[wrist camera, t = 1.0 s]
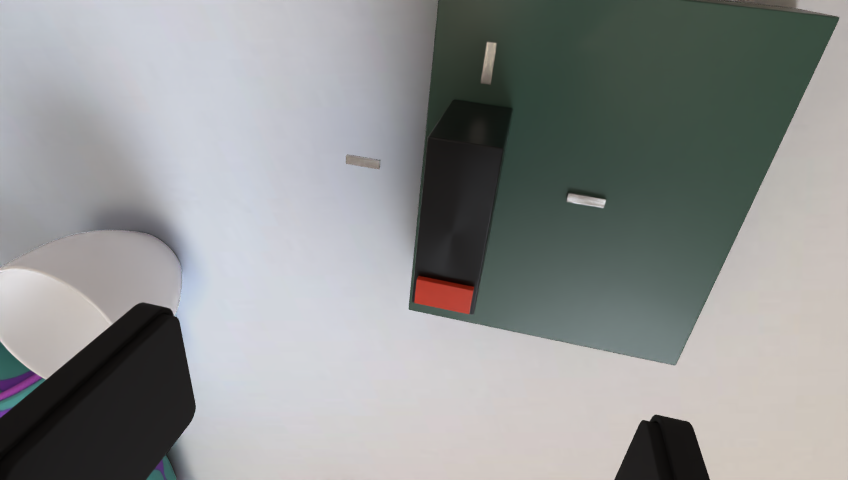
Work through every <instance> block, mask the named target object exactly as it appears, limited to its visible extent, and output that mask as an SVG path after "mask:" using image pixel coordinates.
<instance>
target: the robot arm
mask: <svg viewBox="0 0 848 480" xmlns="http://www.w3.org/2000/svg"><path fill="white" fill-rule="evenodd" d="M195 409H196V405H195V399H194V394H193V389H192V384H191V379H190V374H189V369H188V364H187V358H186V353H185V348H184V343H183V338H182V333H181V328H180V323H179V320H178V318H177V317H175V316H174V314H173V311H172V310H171V309H170V308H167V307H162V306H158V305H153V304H149V303H144V302H142V303H138V304H137V305H135V306H134V307H132V308H131V309H130V310H129V311H128V312H126V313H125V314H124V315H123V316H122V317H121V318H119V319H118V320H117V321H116V322H115V323H113V324H112V325H111V326H110V327H109V328H107V329H106V330H105V331H104V332H103V333H101V334H100V335H99V336H98V337H97V338H95V339H94V340H93V341H92V342H91V343H89V344H88V345H87V346H86V347H85V348H83V349H82V350H81V351H80V352H79V353H77V354H76V355H75V356H74V357H73V358H71V359H70V360H69V361H68V362H67V363H65V364H64V365H63V366H62V367H61V368H59V369H58V370H57V371H56V372H55V373H53V374H52V375H51V376H50V377H49V378H47V379H46V380H45V381H44V382H43V383H41V384H40V385H39V386H38V387H37V388H36V389H34V390H33V391H32V392H31V393H30V394H28V395H27V396H26V397H25V398H24V399H22V400H21V401H20V402H19V403H18V404H16V405H15V406H14V407H13V408H12V409H10V410H9V411H8V412H7V413H6V414H4V415H3V416H2V417H1V418H0V480H146V479H147V478H148V477H149V476H150V474H151V473H152V472H153V470H154V469H155V468H156V466H157V465H158V464H159V463H160V461H161V460H162V459H163V457H164V456H165V455H166V454H167V452H168V451H169V450H170V448H171V447H172V446H173V444H174V443H175V442H176V441H177V439H178V438H179V437H180V435H181V434H182V433H183V431H184V430H185V429H186V428H187V426H188V425H189V424H190V422H191V421H192V418H193V416H194V413H195ZM615 480H710V479H709V476H708V473H707V469H706V466H705V463H704V460H703V457H702V454H701V451H700V448H699V445H698V442H697V438H696V435H695V432H694V429H693V427H692V425H691V424H690V423H689V422H687V421H682V420H678V419H673V418H669V417H664V416H660V415H654V416H653V417H652V419H651V420H650V422H649V421H645V420H642V421H641V422H640V424H639V426H638V429H637V431H636V433H635V435H634V437H633V440H632V442H631V444H630V446H629V448H628V451H627V453H626V455H625V457H624V460H623V462H622V464H621V466H620V468H619V471H618V473H617V475H616V477H615Z"/></svg>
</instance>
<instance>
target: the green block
mask: <svg viewBox="0 0 848 480" xmlns="http://www.w3.org/2000/svg"><path fill="white" fill-rule="evenodd" d="M838 20H839V17H837V16H832V15H827V14H822V13H817V12H812V11H807V10H802V9H796V8H788V7H779V6H770V5H761V4H752V3H743V2H734V1H725V0H438V9H437V20H436V30H435V41H434V51H433V61H432V72H431V82H430V92H429V103H428V113H427V124H426V134H425V144H424V155H423V165H422V175H421V186H420V196H419V207H418V217H417V227H416V238H415V248H414V258H413V269H412V279H411V290H410V300H409V310H413V311H418V312H423V313H427V314H432V315H437V316H442V317H447V318H451V319H456V320H461V321H466V322H470V323H475V324H480V325H485V326H489V327H494V328H499V329H504V330H508V331H513V332H518V333H523V334H528V335H532V336H537V337H542V338H547V339H551V340H556V341H561V342H566V343H570V344H575V345H580V346H585V347H590V348H594V349H599V350H604V351H609V352H613V353H618V354H623V355H628V356H632V357H637V358H642V359H647V360H652V361H656V362H661V363H666V364H671V365H676V363H677V361H678V359H679V357H680V355H681V353H682V351H683V349H684V347H685V344H686V342H687V340H688V338H689V336H690V334H691V332H692V330H693V327H694V325H695V323H696V321H697V319H698V317H699V315H700V313H701V311H702V308H703V306H704V304H705V302H706V300H707V298H708V296H709V294H710V291H711V289H712V287H713V285H714V283H715V281H716V279H717V277H718V275H719V272H720V270H721V268H722V266H723V264H724V262H725V260H726V258H727V255H728V253H729V251H730V249H731V247H732V245H733V243H734V241H735V239H736V236H737V234H738V232H739V230H740V228H741V226H742V224H743V222H744V219H745V217H746V215H747V213H748V211H749V209H750V207H751V205H752V203H753V200H754V198H755V196H756V194H757V192H758V190H759V188H760V186H761V183H762V181H763V179H764V177H765V175H766V173H767V171H768V169H769V167H770V164H771V162H772V160H773V158H774V156H775V154H776V152H777V150H778V147H779V145H780V143H781V141H782V139H783V137H784V135H785V133H786V131H787V128H788V126H789V124H790V122H791V120H792V118H793V116H794V114H795V111H796V109H797V107H798V105H799V103H800V101H801V99H802V97H803V95H804V92H805V90H806V88H807V86H808V84H809V82H810V80H811V78H812V75H813V73H814V71H815V69H816V67H817V65H818V63H819V61H820V59H821V56H822V54H823V52H824V50H825V48H826V46H827V44H828V42H829V39H830V37H831V35H832V33H833V31H834V29H835V27H836V25H837V23H838ZM453 100H461V101H467V102H474V103H481V104H487V105H494V106H501V107H508V108H512V109H513V112H512V118H511V123H510V128H509V134H508V139H507V145H506V150H505V156H504V161H503V167H502V172H501V178H500V183H499V189H498V194H497V199H496V205H495V210H494V216H493V221H492V227H491V232H490V238H489V243H488V249H487V254H486V258H485V263H484V268H483V273H482V278H481V283H480V287H479V292H478V297H477V302H476V307H475V312H474V314H473V315H470V314H465V313H460V312H456V311H451V310H446V309H441V308H436V307H432V306H427V305H422V304H417V303H413V302H412V291H413V281H414V271H415V261H416V251H417V241H418V231H419V220H420V210H421V200H422V190H423V180H424V170H425V160H426V150H427V140H428V136H429V135H430V133H431V132H432V130H433V129H434V127H435V126H436V124H437V123H438V121H439V120H440V118H441V117H442V115H443V114H444V112H445V111H446V109H447V108H448V107H449V105H450V104H451V102H452V101H453ZM346 164H350V165H356V166H362V167H368V168H374V169H380V160H378V159H372V158H366V157H360V156H354V155H348V154H347V155H346Z"/></svg>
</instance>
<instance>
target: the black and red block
mask: <svg viewBox="0 0 848 480" xmlns="http://www.w3.org/2000/svg"><path fill="white" fill-rule="evenodd" d="M512 112H513V109H512V108H508V107H501V106H494V105H487V104H481V103H474V102H467V101H461V100H453V101H452V102H451V104H450V105H449V107H448V108H447V109H446V111H445V112H444V114H443V115H442V117H441V118H440V120H439V121H438V123H437V124H436V126H435V127H434V129H433V130H432V132H431V133H430V135H429V136H428V140H427V150H426V160H425V170H424V180H423V190H422V200H421V210H420V220H419V231H418V241H417V251H416V261H415V271H414V281H413V291H412V302H413V303H417V304H422V305H427V306H432V307H436V308H441V309H446V310H451V311H456V312H460V313H465V314H470V315H473V314H474V312H475V307H476V302H477V297H478V292H479V287H480V283H481V278H482V273H483V268H484V263H485V258H486V254H487V249H488V243H489V238H490V232H491V227H492V221H493V216H494V210H495V205H496V199H497V194H498V189H499V183H500V178H501V172H502V167H503V161H504V156H505V150H506V145H507V139H508V134H509V128H510V123H511V118H512Z"/></svg>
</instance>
